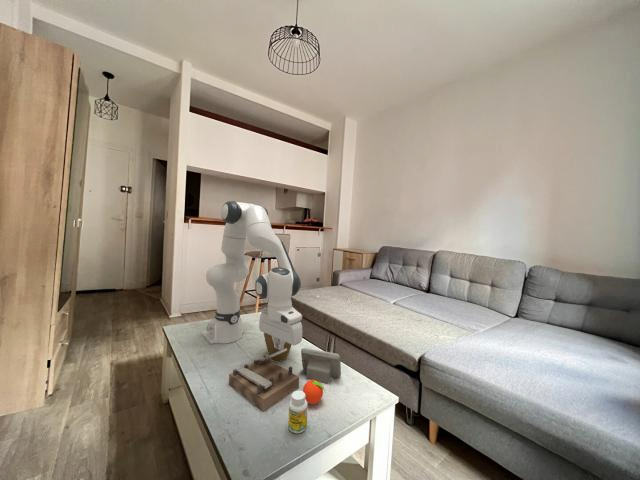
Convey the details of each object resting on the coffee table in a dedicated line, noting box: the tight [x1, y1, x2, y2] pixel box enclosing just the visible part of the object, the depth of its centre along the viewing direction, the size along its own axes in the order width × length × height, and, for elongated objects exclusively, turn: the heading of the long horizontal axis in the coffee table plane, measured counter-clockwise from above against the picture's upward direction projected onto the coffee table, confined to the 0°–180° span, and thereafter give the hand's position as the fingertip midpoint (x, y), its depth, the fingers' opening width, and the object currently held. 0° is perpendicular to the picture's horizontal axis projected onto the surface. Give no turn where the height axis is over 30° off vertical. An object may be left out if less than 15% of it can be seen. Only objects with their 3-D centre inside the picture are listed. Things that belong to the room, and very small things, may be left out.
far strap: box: [257, 348, 287, 363], centre depth 93 cm, size 16×3×1 cm
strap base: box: [228, 354, 300, 412], centre depth 89 cm, size 20×16×7 cm
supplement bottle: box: [288, 390, 308, 434], centre depth 71 cm, size 5×5×10 cm
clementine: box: [302, 380, 326, 405], centre depth 82 cm, size 8×7×7 cm
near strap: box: [236, 366, 272, 389], centre depth 86 cm, size 16×3×1 cm, turn 51°
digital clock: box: [300, 347, 342, 385], centre depth 96 cm, size 16×9×11 cm, turn 63°
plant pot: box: [263, 332, 293, 363], centre depth 109 cm, size 15×15×16 cm
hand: (278, 348), depth 91 cm, fingers closed
